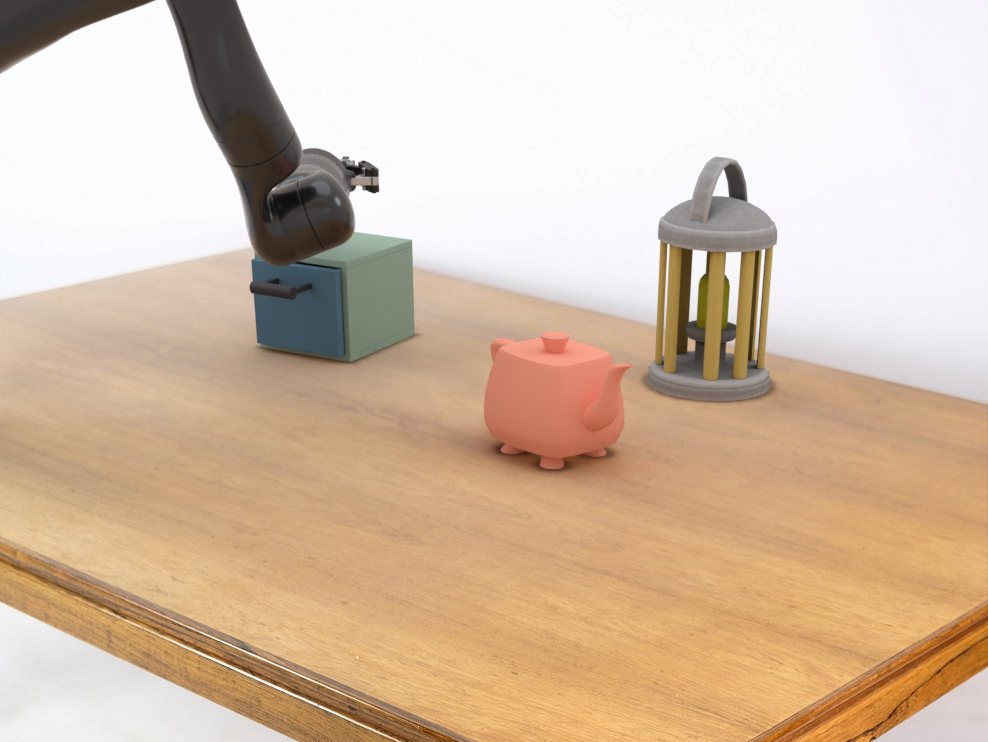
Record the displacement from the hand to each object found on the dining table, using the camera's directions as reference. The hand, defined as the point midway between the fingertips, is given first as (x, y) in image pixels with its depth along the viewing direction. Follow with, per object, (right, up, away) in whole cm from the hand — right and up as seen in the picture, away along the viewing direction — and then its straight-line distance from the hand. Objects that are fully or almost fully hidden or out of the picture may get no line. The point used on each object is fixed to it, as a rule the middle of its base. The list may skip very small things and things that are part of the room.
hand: (323, 165), depth 188 cm
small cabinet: (0, -18, +10) cm, 21 cm away
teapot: (+28, -37, -24) cm, 53 cm away
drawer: (-2, -19, +6) cm, 20 cm away
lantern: (+45, -25, 0) cm, 51 cm away
